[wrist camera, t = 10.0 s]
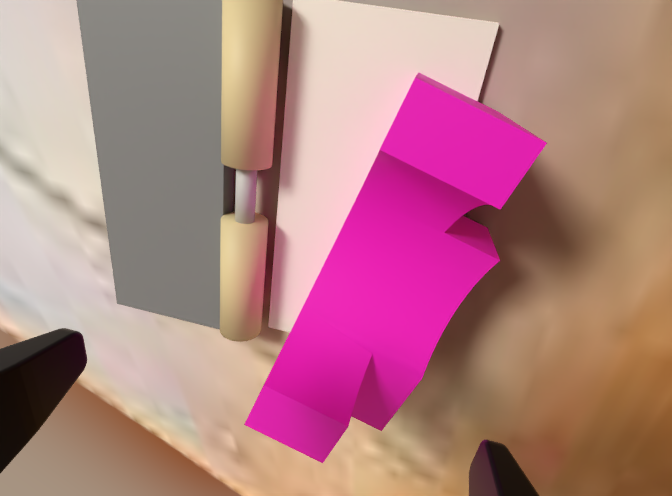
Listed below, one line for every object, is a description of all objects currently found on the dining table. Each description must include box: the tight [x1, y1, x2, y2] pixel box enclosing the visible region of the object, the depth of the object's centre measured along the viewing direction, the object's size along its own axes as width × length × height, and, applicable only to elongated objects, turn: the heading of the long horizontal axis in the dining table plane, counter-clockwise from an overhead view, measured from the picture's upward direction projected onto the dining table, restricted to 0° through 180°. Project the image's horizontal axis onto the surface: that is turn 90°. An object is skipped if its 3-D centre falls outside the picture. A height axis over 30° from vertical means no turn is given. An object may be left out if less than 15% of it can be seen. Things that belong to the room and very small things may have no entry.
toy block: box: [244, 73, 547, 463], centre depth 17 cm, size 15×6×8 cm, turn 156°
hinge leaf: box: [77, 0, 283, 341], centre depth 20 cm, size 9×18×2 cm, turn 172°
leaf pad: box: [268, 0, 499, 332], centre depth 20 cm, size 8×17×1 cm, turn 172°
